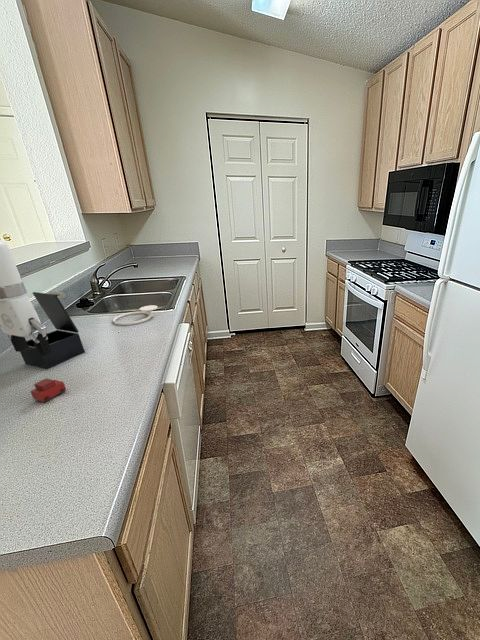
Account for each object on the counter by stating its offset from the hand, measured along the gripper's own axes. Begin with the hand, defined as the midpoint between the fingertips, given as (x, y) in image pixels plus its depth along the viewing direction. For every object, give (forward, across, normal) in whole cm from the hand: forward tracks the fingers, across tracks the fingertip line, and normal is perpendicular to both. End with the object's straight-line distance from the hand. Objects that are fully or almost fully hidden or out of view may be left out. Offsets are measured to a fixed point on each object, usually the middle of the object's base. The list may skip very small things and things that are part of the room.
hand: (34, 352), depth 92 cm
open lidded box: (+14, -24, +18) cm, 33 cm away
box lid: (-1, -24, +23) cm, 34 cm away
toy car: (+14, 0, 0) cm, 14 cm away
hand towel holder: (+15, -29, +61) cm, 69 cm away
